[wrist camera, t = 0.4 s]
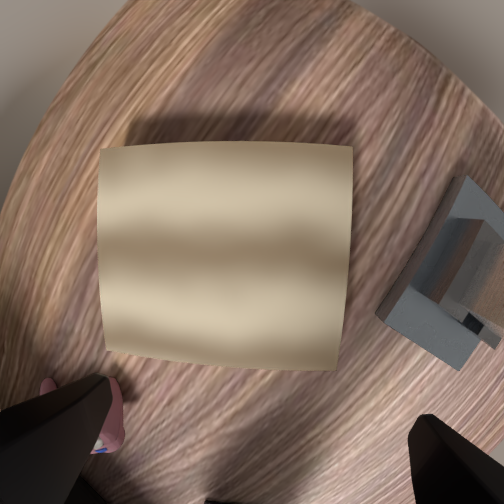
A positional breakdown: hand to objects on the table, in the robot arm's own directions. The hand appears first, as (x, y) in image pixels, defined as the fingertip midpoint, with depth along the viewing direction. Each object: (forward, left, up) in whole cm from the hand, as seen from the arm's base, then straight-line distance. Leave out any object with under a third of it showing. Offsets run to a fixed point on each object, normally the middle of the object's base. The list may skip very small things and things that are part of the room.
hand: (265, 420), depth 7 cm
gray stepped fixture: (+1, -16, -14) cm, 21 cm away
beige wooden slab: (+3, +4, -14) cm, 15 cm away
